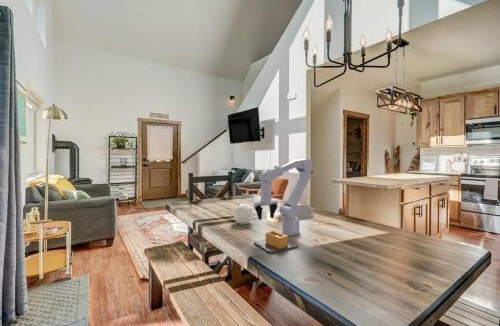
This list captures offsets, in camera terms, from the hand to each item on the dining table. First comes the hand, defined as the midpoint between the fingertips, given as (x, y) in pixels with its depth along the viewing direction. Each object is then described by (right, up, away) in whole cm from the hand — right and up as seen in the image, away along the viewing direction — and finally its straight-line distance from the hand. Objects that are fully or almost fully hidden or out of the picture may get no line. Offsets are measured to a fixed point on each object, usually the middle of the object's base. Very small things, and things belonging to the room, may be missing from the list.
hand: (265, 218), depth 136 cm
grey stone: (+28, -9, +42) cm, 51 cm away
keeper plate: (+4, -11, -13) cm, 17 cm away
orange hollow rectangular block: (+4, -10, -14) cm, 17 cm away
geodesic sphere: (-13, -10, +28) cm, 32 cm away
